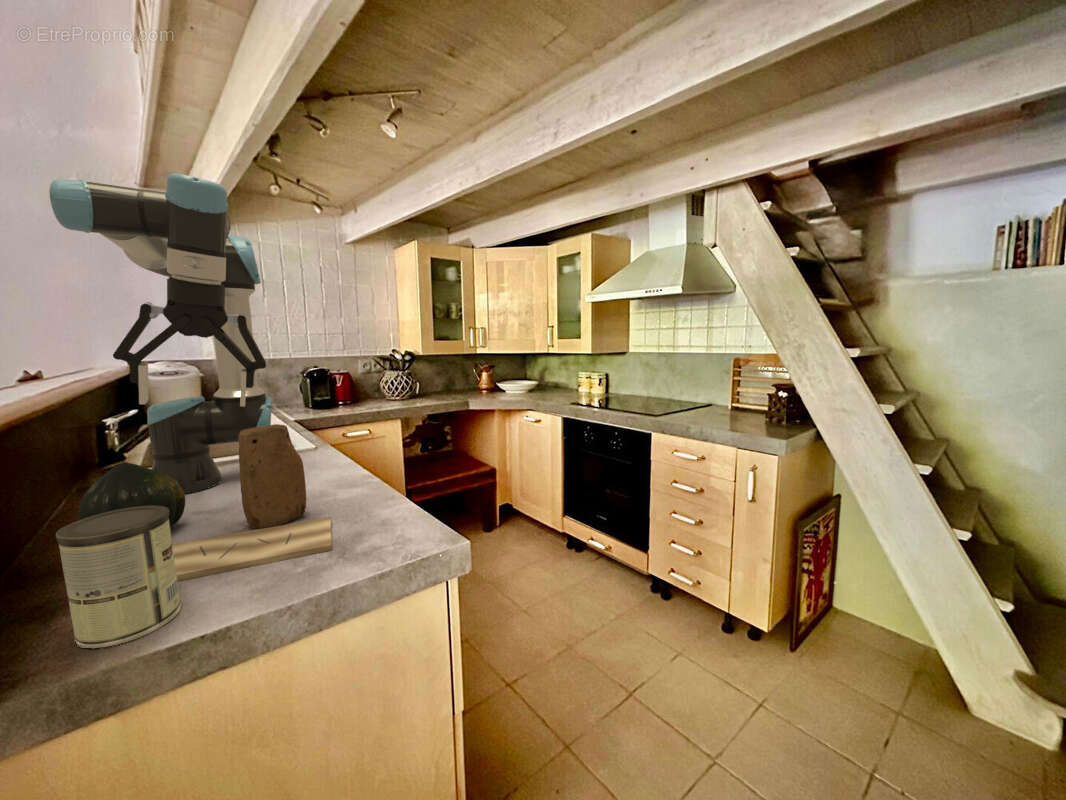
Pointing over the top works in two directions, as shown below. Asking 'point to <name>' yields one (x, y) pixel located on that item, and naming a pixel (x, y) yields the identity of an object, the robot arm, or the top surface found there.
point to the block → (270, 477)
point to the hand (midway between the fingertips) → (195, 403)
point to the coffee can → (119, 574)
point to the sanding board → (251, 548)
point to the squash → (133, 492)
